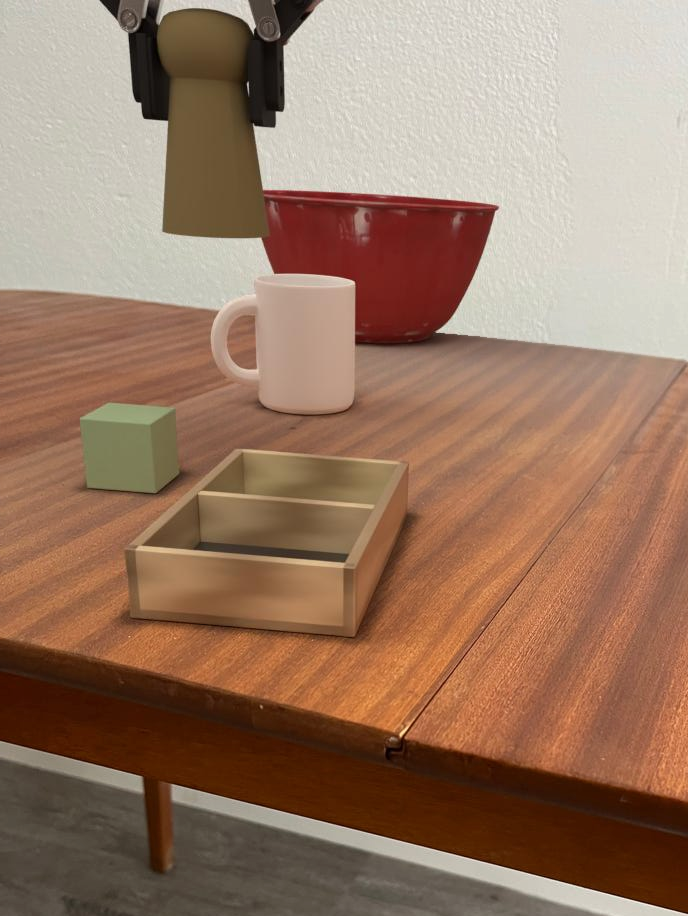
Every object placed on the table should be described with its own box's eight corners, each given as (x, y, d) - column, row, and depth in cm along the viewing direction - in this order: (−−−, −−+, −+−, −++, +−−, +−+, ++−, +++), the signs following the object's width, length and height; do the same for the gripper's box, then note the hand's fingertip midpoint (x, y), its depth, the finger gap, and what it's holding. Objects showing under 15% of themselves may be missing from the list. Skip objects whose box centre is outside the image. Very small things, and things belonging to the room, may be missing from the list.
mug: (218, 417, 83) (212, 284, 79) (209, 395, 90) (202, 271, 86) (363, 415, 87) (365, 287, 82) (343, 393, 94) (344, 274, 89)
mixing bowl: (261, 311, 134) (257, 183, 128) (477, 321, 138) (484, 196, 131) (240, 351, 109) (234, 193, 102) (504, 361, 113) (515, 209, 106)
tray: (130, 618, 48) (123, 548, 47) (238, 502, 64) (236, 448, 63) (354, 637, 48) (355, 568, 46) (407, 516, 64) (408, 461, 62)
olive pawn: (153, 226, 60) (137, 8, 55) (256, 229, 63) (249, 20, 58) (171, 236, 55) (155, -2, 50) (281, 239, 58) (276, 11, 53)
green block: (86, 488, 65) (78, 418, 63) (114, 468, 69) (108, 402, 67) (156, 494, 65) (150, 423, 63) (180, 474, 69) (175, 407, 67)
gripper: (-28, -349, 45) (27, 111, 53) (355, -329, 45) (353, 132, 53) (46, -284, 52) (84, 116, 60) (379, -266, 52) (375, 134, 60)
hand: (210, 119), depth 56 cm, fingers closed on olive pawn, 5 cm apart
